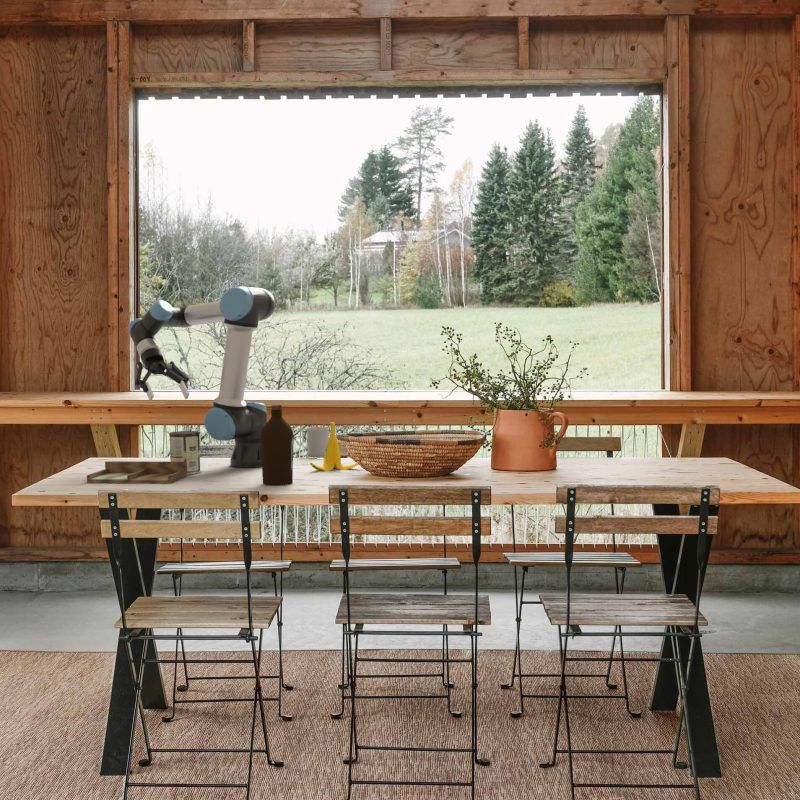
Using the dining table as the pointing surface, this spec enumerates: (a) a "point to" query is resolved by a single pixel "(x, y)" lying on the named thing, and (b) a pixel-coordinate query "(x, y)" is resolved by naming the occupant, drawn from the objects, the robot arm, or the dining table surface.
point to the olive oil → (277, 450)
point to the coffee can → (186, 449)
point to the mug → (317, 441)
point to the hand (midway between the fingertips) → (169, 397)
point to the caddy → (139, 472)
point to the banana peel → (332, 454)
